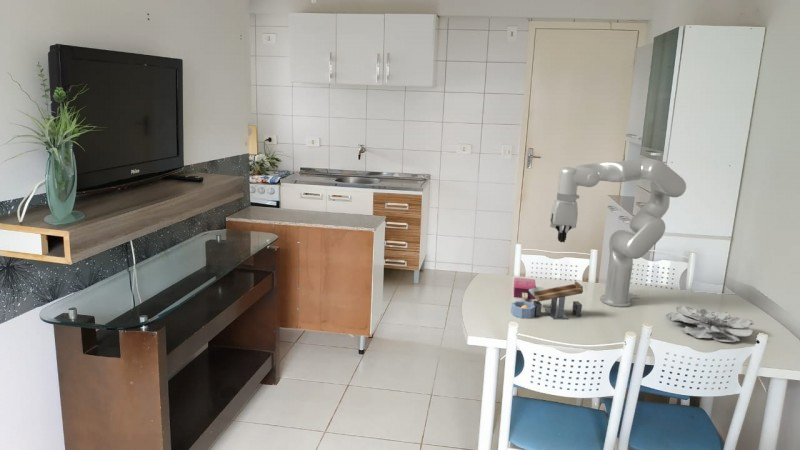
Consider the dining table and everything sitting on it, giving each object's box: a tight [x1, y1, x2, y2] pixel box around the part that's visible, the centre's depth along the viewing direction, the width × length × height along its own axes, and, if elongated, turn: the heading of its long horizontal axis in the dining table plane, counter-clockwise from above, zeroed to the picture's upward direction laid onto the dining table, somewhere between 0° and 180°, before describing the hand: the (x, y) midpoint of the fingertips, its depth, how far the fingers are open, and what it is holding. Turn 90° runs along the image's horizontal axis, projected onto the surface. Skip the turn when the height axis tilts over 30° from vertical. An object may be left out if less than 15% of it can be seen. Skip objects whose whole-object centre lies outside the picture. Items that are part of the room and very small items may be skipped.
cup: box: [510, 300, 535, 319], centre depth 231 cm, size 9×9×4 cm
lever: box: [529, 281, 584, 302], centre depth 234 cm, size 18×13×3 cm
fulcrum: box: [532, 296, 583, 320], centre depth 231 cm, size 19×10×9 cm, turn 96°
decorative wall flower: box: [665, 304, 755, 343], centre depth 225 cm, size 30×7×30 cm
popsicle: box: [513, 277, 537, 300], centre depth 254 cm, size 9×5×20 cm
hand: (561, 241), depth 239 cm, fingers closed
